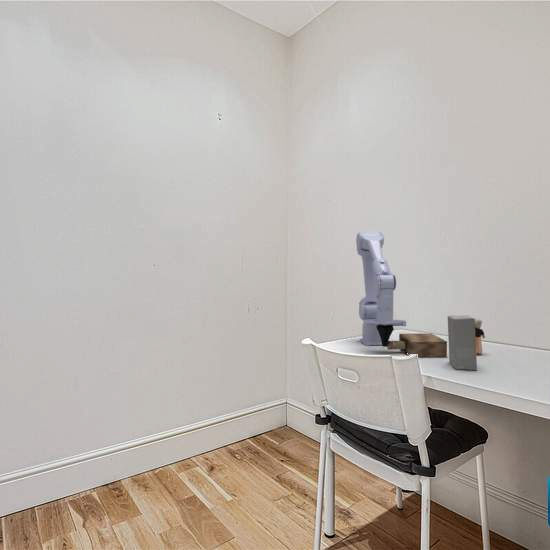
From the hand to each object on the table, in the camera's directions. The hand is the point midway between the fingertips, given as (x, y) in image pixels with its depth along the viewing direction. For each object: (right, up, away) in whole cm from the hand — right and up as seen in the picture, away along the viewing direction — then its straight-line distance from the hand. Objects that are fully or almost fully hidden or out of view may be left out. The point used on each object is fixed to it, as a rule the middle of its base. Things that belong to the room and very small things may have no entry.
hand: (384, 346), depth 146 cm
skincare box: (+19, -3, -18) cm, 26 cm away
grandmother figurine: (+31, -3, -3) cm, 32 cm away
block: (+13, -2, 0) cm, 13 cm away
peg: (+7, -1, 0) cm, 7 cm away
